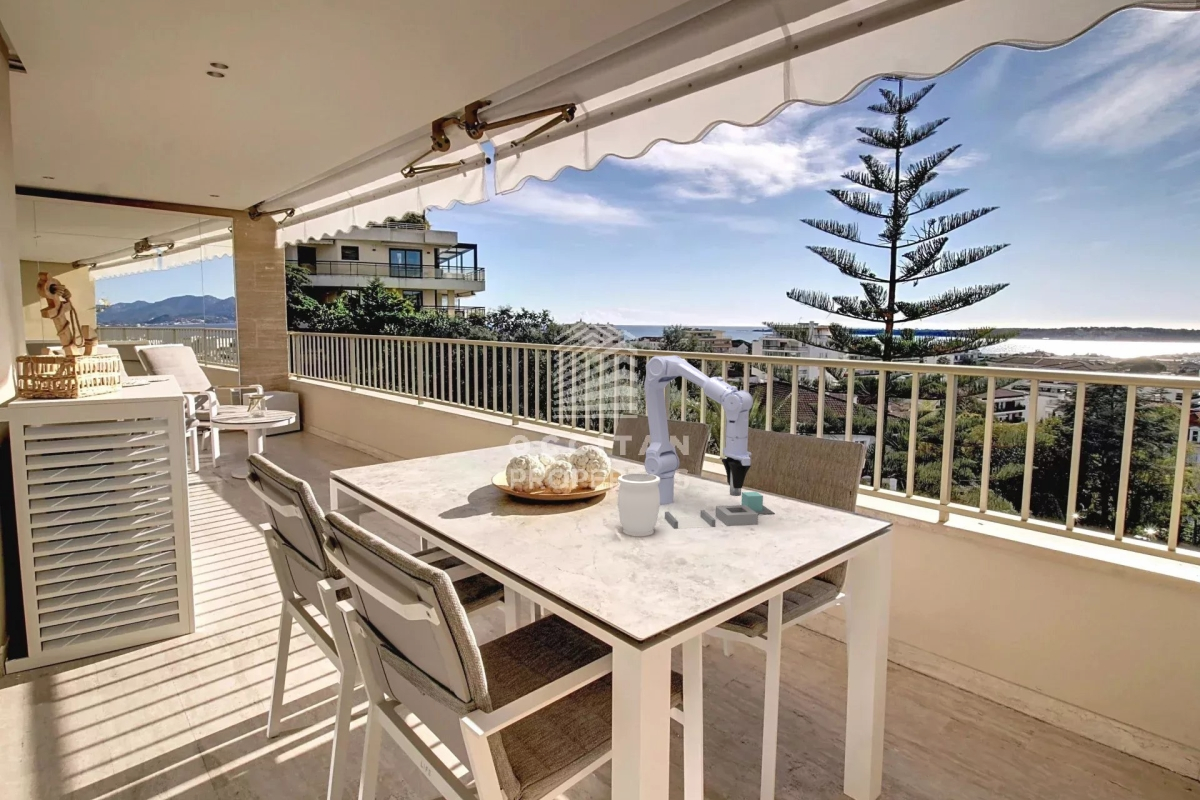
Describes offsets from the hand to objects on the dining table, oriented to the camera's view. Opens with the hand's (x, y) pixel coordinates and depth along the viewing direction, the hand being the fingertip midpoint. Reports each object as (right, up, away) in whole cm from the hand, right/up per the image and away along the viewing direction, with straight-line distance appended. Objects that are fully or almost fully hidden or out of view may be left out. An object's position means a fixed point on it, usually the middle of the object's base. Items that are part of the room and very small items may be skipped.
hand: (735, 486), depth 170 cm
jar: (-27, -11, -10) cm, 31 cm away
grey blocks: (-7, -10, -2) cm, 12 cm away
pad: (+8, -9, +13) cm, 17 cm away
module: (+8, -8, +13) cm, 17 cm away
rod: (0, -2, 0) cm, 2 cm away
